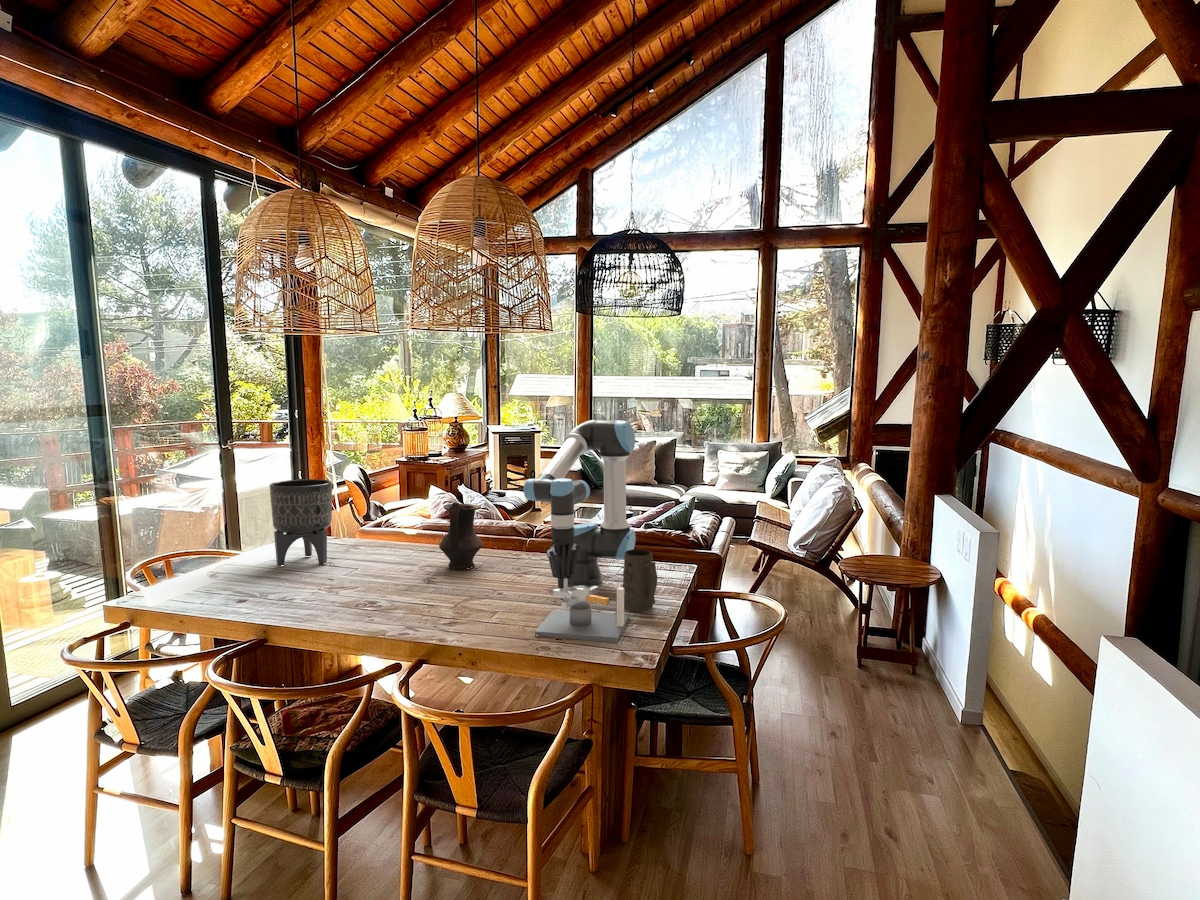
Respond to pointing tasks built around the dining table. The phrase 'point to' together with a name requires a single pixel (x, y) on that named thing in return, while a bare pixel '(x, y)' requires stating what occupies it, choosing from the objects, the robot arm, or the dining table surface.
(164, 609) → the dining table surface
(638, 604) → the beer stein
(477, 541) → the jug
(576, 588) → the capstan
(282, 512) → the planter
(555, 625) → the stand
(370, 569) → the dining table surface
